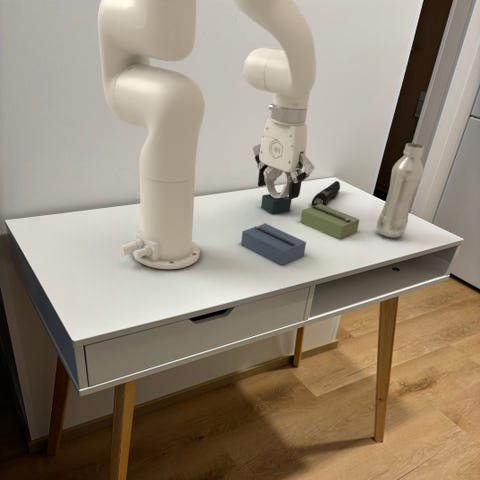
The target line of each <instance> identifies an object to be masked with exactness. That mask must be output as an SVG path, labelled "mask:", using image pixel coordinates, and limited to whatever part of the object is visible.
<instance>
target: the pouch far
mask: <svg viewBox="0 0 480 480" xmlns="http://www.w3.org/2000/svg"><path fill="white" fill-rule="evenodd" d="M360 220H361V219H360V218H357V217H355V216H352V215H350V214H348V213H344V212H342V211H339V210H337V209H334V208H332V207H329V206H327V205H326V206H325V205H322V204H318V205H315V206H312V205H311V206H310V207H307V208H304V209H302V210H301V216H300V223H302V224H303V225H306V226H308V227H309V228H313V229H315V230H317V231H319V232H322V233H324V234H327V235H329V236H331V237H334V238H336V239H338V240H341V239H343V238H346V237H349V236H350V235H353V234H355V233H357V231H358V228H359V225H360Z"/></svg>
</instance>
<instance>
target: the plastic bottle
mask: <svg viewBox="0 0 480 480" xmlns="http://www.w3.org/2000/svg"><path fill="white" fill-rule="evenodd" d="M424 151H425V146H424V145H422V144H419V143H414V142H408V143H406V144H405V147H404V150H403V156H401V157H400V158H399V159H398V160H397V161H396V162H395V163H394V165H393V166H392V168H391V174H390V181H389V187H388V192H387V194H386V195H387V196H386V200H385V203H384V204H383V207H382V211H381V212H380V214H379V216H378V219H377V220H376V230H377V232H378V233H379V234H380V235H381V236H384V237H387V238H394V239H395V238H400V237H401V236H403V234H404V233H405V231H406V230H407V227H408V221H409V218H408V217H409V215H410V210H411V206H412V202H413V198H414V197H415V194H416V191H417V189H418V187H419V185H420V183H421V180H422V178H423V176H424V166H423V163H422V160H421V158H422V157H423V154H424Z"/></svg>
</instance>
